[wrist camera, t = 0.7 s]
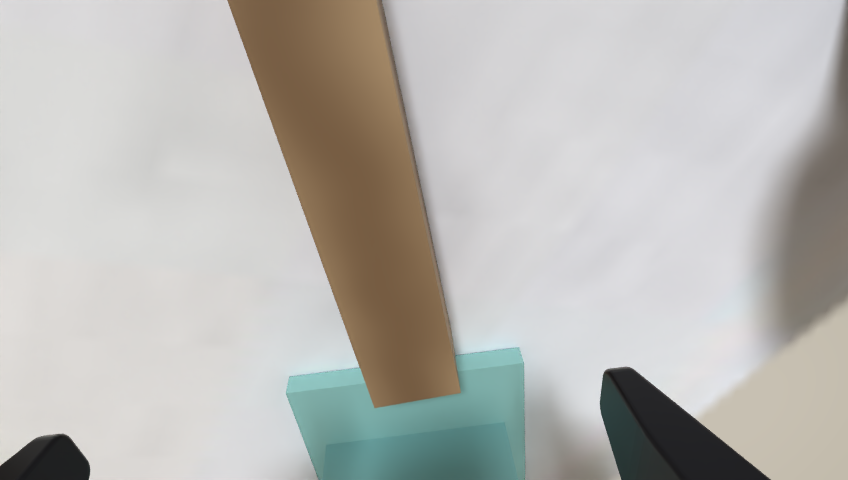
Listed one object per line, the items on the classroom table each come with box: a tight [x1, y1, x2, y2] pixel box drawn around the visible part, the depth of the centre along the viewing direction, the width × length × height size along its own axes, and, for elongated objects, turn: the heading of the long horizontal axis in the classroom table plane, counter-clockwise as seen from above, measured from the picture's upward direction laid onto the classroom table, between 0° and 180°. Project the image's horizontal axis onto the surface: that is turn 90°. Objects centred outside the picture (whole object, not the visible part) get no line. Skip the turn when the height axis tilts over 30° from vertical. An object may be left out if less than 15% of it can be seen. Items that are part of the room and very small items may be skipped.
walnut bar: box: [228, 0, 461, 408], centre depth 17 cm, size 4×18×4 cm, turn 11°
